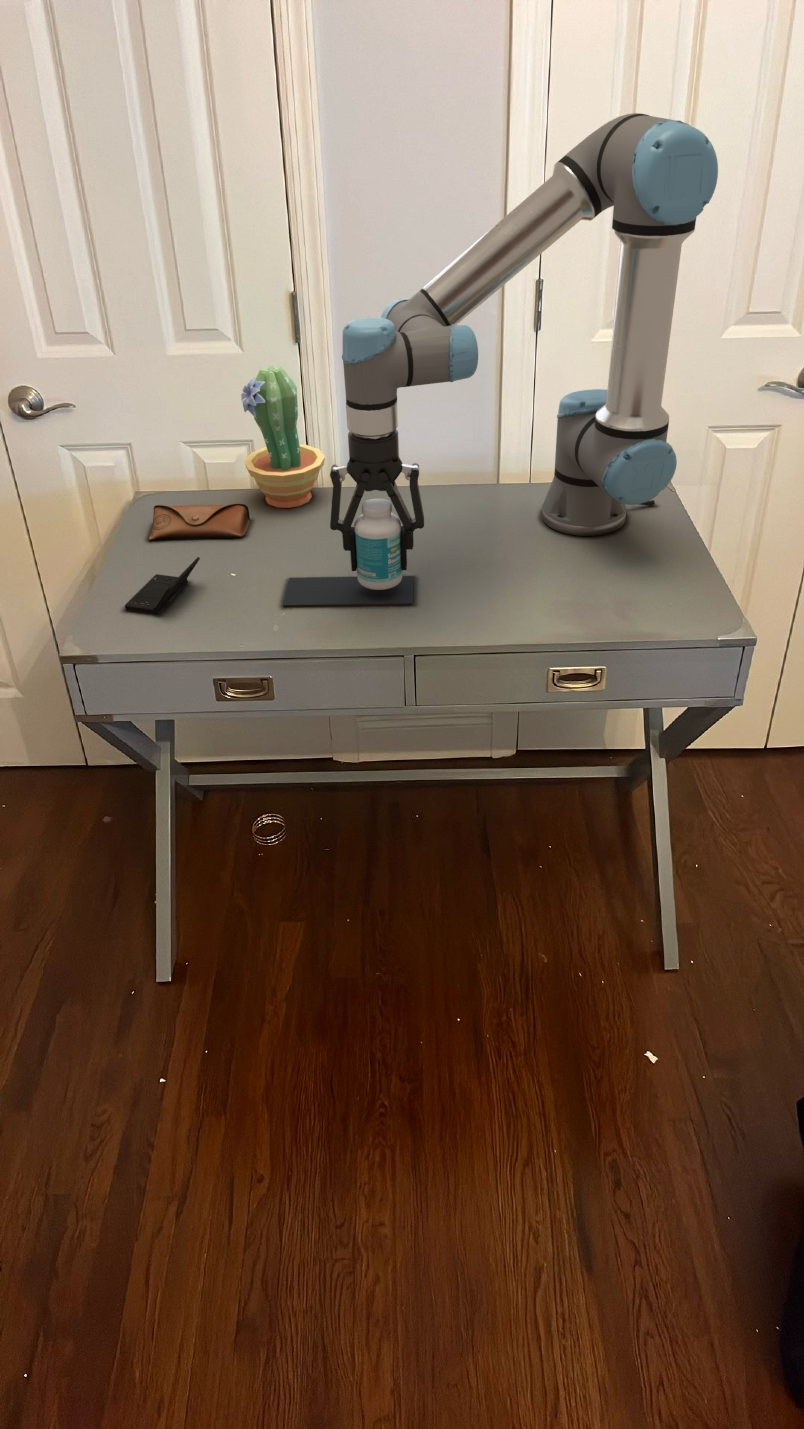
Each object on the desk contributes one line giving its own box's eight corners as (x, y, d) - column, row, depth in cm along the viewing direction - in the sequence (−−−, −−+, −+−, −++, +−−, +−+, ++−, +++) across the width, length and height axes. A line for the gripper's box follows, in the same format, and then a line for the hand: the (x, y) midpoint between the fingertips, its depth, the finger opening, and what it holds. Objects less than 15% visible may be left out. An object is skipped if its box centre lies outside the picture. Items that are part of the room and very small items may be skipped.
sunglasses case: (146, 540, 180) (144, 502, 180) (156, 542, 188) (154, 506, 187) (245, 537, 180) (243, 499, 180) (251, 539, 187) (249, 503, 187)
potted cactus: (251, 483, 200) (235, 357, 185) (328, 479, 201) (317, 353, 186) (246, 517, 188) (228, 385, 173) (328, 512, 188) (317, 381, 173)
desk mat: (413, 577, 168) (413, 575, 167) (412, 605, 160) (412, 603, 160) (289, 579, 168) (289, 577, 168) (283, 607, 161) (283, 605, 161)
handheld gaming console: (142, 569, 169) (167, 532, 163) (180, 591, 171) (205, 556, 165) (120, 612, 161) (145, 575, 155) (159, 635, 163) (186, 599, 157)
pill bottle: (397, 593, 159) (394, 516, 151) (353, 590, 161) (347, 513, 152) (406, 571, 165) (404, 495, 157) (363, 568, 166) (358, 493, 158)
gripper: (441, 419, 150) (441, 554, 164) (307, 422, 151) (319, 556, 165) (441, 438, 144) (442, 577, 158) (302, 441, 145) (315, 579, 159)
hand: (379, 566), depth 161 cm, fingers closed on pill bottle, 7 cm apart
